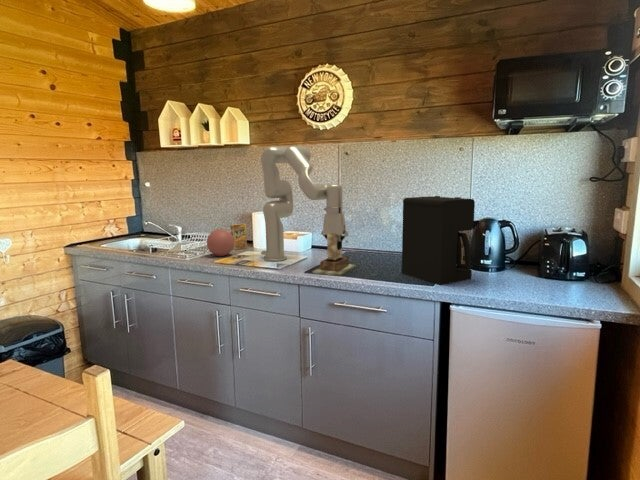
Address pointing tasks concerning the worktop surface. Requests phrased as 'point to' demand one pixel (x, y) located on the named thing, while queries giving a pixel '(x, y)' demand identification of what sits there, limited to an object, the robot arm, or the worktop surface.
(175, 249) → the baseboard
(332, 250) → the tan mottled block
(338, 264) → the brown open box
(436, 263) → the coffee maker
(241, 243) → the candy box
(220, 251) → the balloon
